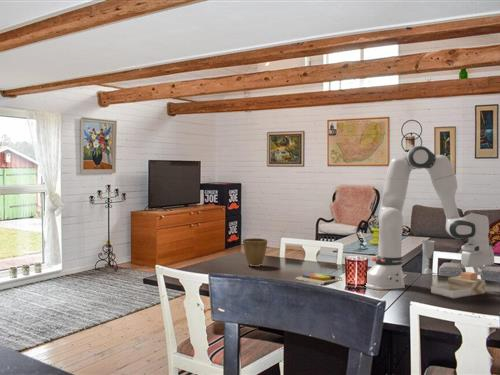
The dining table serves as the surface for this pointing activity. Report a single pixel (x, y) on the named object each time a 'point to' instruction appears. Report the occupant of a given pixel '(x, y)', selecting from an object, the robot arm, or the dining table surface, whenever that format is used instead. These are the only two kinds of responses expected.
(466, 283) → the bench plate
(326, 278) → the wooden puzzle
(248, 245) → the plant pot
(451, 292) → the box
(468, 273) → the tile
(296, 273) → the dining table surface
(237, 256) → the dining table surface
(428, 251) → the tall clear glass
